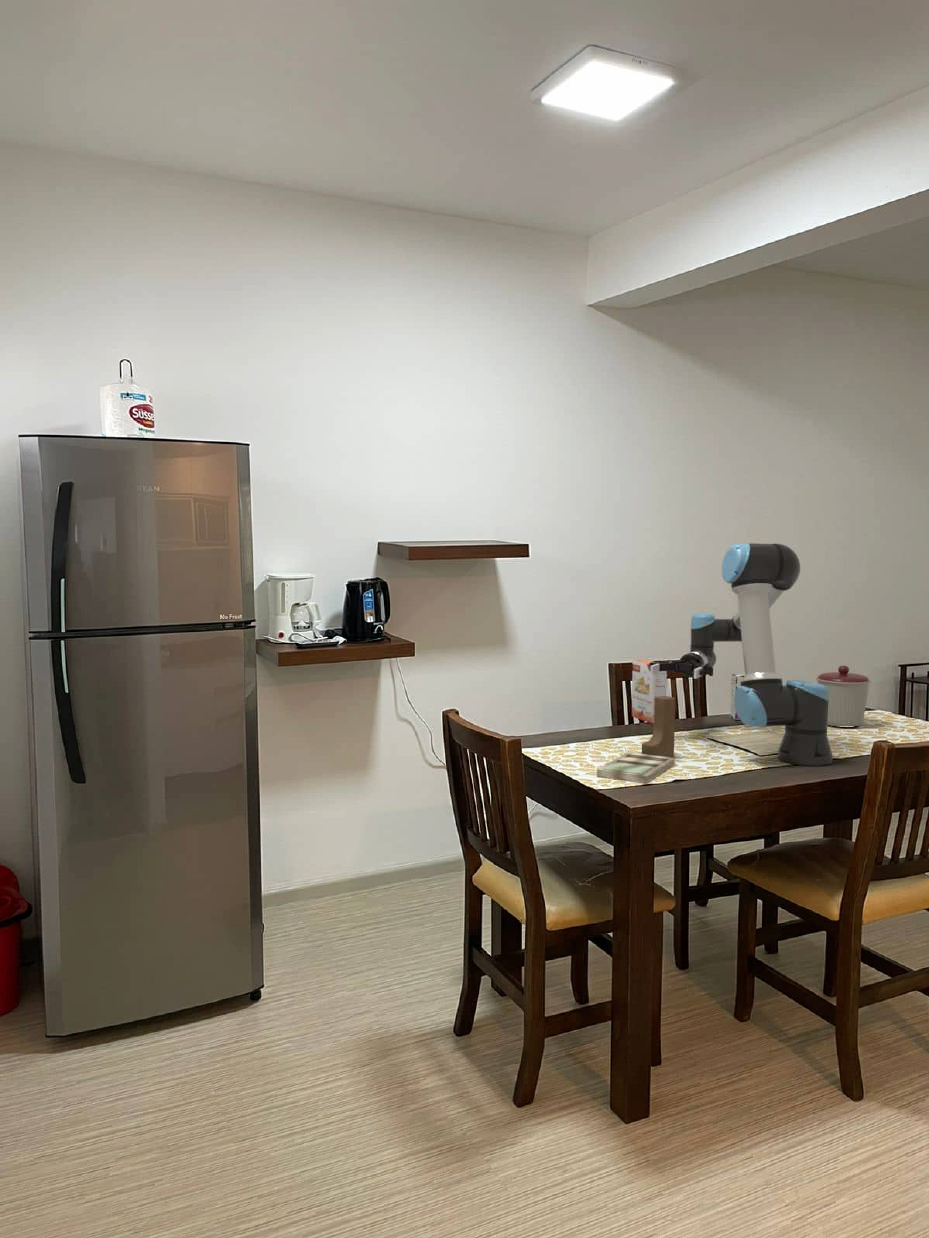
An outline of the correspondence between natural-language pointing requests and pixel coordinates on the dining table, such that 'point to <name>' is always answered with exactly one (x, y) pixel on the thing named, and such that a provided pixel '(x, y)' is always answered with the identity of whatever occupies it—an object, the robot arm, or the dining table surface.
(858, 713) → the canister
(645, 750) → the wooden block
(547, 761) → the dining table surface
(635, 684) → the cracker box
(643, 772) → the board
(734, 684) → the candy bar box
